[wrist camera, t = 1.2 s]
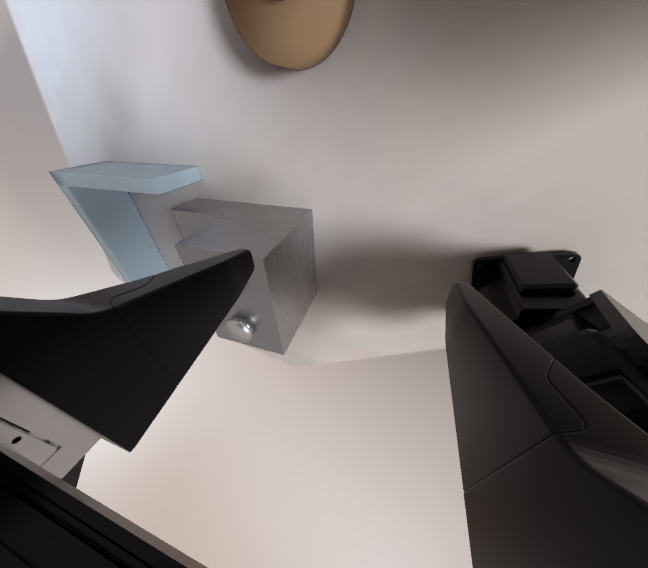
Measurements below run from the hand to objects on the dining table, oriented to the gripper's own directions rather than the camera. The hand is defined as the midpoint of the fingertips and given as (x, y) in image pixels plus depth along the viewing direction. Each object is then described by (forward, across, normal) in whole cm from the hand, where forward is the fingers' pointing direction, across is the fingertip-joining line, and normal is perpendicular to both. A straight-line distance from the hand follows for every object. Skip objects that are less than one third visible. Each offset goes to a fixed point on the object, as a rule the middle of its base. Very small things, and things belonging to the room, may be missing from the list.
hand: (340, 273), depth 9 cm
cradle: (+12, +24, +7) cm, 27 cm away
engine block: (+12, +12, +7) cm, 19 cm away
